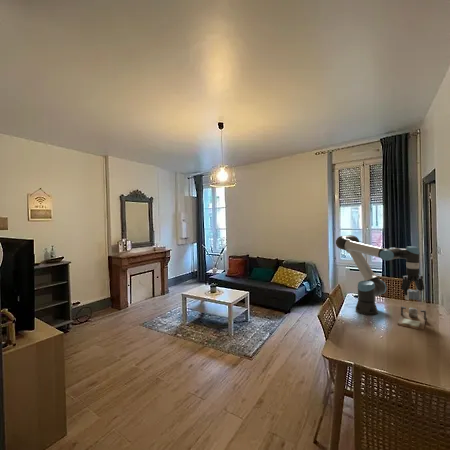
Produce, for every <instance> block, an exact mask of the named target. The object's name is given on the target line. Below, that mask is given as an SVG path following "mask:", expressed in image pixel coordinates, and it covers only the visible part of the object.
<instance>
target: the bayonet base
mask: <svg viewBox="0 0 450 450" xmlns="http://www.w3.org/2000/svg"><path fill="white" fill-rule="evenodd" d="M406 309H407V307H406V306H400V317H399V320H398V321H397V325H398V326H401V327H402V326H403V327H407V328H411V329H416V330H421V331H424V330H425V327H426V326H425V325H426V320H427V310H425V309H420V312H421V313H423V315H422V314H419V313H418V308H416V307H409V308H408V312H407V311H405V312H404V310H406Z"/></svg>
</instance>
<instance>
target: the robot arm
mask: <svg viewBox="0 0 450 450" xmlns="http://www.w3.org/2000/svg"><path fill="white" fill-rule="evenodd" d="M335 246H336V247H337V248H338V249H340V250H344V251H345V252H346V253H347V254H350V256H351V258H352V260H353V262H354V263H355V265H356V267H357V269H358V271H359V272H360V274H361V276H362V278H363V280H360V281H359V282H357V303H356V306H355V312H357V314H358V313H359V314H361V315H366V316H376V315H378V313H379V312H378V311H379V310H378V308H377V305H376V297H379V296H381V295H383V294H385V293H386V292H387V287H388V286H387V284H386V283H385V282H384V280H381V279H380V277H379V276H378V275H375V274H374V271H373V270H372V267H370V265H369V263H368V261H367V259H366V258H365V256H364V255H368V256H372V257H375V258H380V259H381V260H382V261H392V260H395V259H397V260H398V259H403V260H405V261H406V262H405V265H406V269H405V272H406V275H402V277H401V278H402V282H401V287H400V288H401V290H402V291H403V296H404V300H407V301H410V299H409V291H408V289H410V286H411V283H413V282H414V284H415V287H416V288H417V289H416V290H417V291H420V300H421V295H422V292H423V291H424V290H425V286H424V285H425V284H424V280H423V279H424V276H423V275H420V255H421V253H420V247H419V246H412V245H411V246H408V245H407V246H406V248H399V247H388V248H384V247H379V246H375V245H371V244H366V243H362V242H360V239H359V238H358V236H356V235H352V234H349V235H340V236H338V237H337V238H336V240H335ZM363 254H364V255H363ZM420 300H419V301H420Z"/></svg>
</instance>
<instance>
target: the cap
mask: <svg viewBox="0 0 450 450" xmlns="http://www.w3.org/2000/svg"><path fill="white" fill-rule="evenodd" d="M417 290H418V289H411V288H409V289H408V291H409V300H417V301H420V291H417Z"/></svg>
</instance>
